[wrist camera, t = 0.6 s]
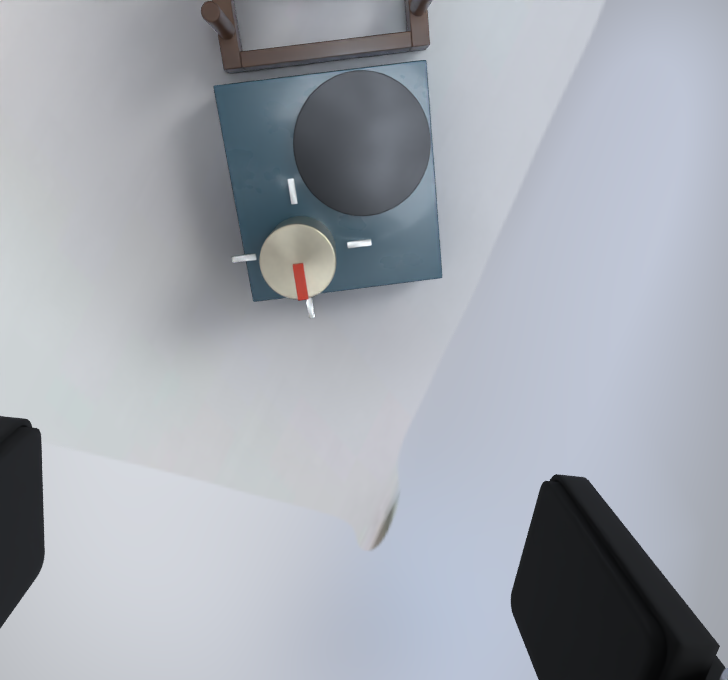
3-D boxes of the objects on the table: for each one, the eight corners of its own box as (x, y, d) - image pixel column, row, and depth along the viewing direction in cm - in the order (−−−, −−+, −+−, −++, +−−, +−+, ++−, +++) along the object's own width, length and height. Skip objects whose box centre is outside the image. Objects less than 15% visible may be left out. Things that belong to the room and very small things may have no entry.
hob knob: (262, 220, 32) (252, 229, 28) (331, 211, 32) (330, 219, 28) (273, 288, 33) (265, 305, 30) (340, 279, 33) (340, 296, 30)
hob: (208, 92, 32) (198, 86, 30) (419, 66, 32) (426, 59, 30) (250, 314, 36) (244, 326, 34) (437, 290, 37) (444, 300, 34)
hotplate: (283, 80, 30) (282, 79, 30) (423, 63, 30) (425, 61, 30) (304, 223, 32) (304, 224, 32) (434, 206, 32) (436, 207, 32)
